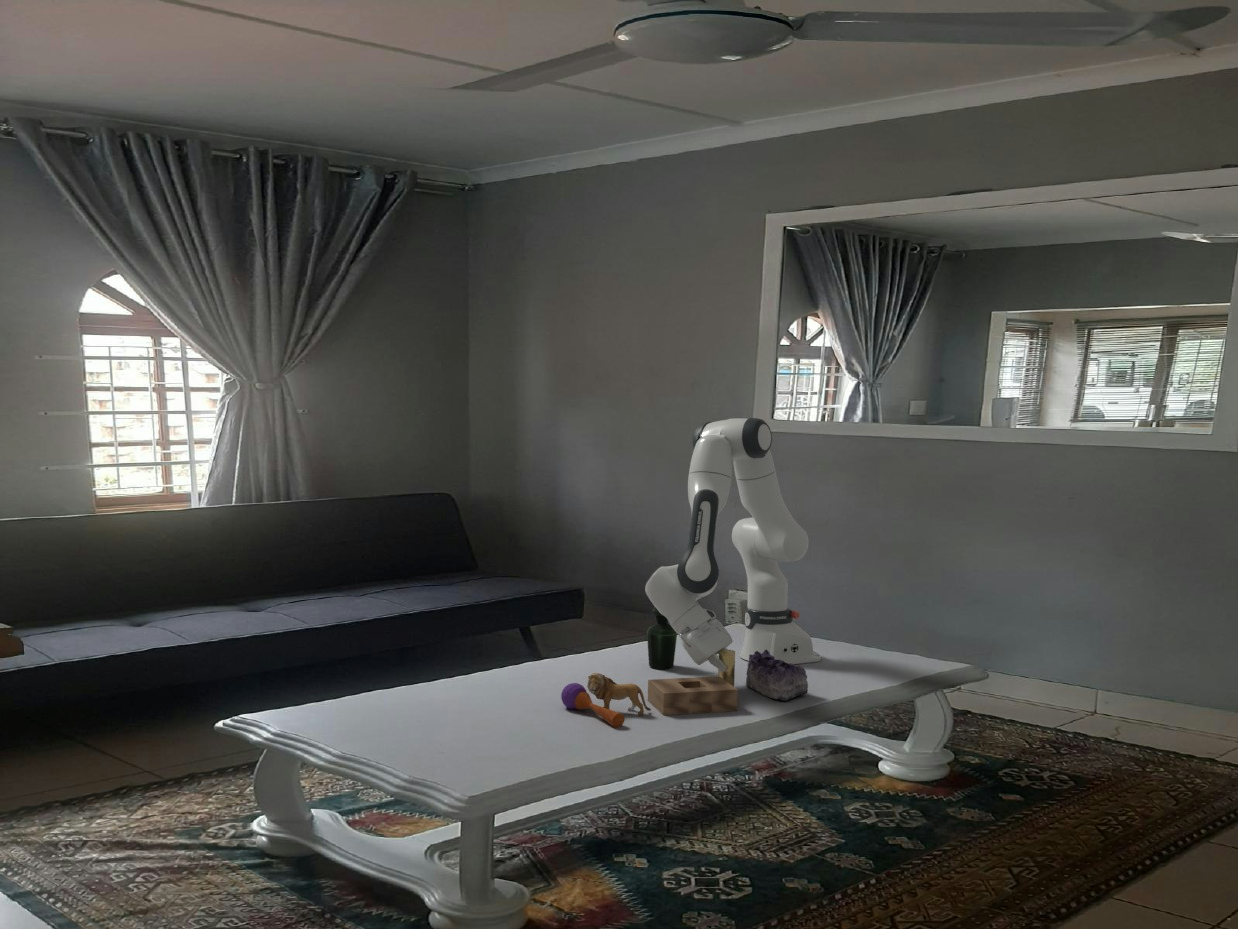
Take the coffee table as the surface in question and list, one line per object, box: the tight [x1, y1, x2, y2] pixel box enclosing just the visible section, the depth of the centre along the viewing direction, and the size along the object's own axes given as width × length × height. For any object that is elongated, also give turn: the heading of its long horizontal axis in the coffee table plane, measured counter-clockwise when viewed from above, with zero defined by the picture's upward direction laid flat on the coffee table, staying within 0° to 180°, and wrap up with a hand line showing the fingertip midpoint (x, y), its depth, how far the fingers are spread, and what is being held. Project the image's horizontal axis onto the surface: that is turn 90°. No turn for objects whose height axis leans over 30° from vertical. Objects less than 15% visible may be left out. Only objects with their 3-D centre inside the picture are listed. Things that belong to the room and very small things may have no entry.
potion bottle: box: [646, 607, 678, 671], centre depth 287 cm, size 8×8×18 cm
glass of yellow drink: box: [717, 648, 736, 687], centre depth 264 cm, size 4×4×10 cm
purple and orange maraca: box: [560, 682, 625, 729], centre depth 242 cm, size 6×6×20 cm
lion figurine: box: [586, 672, 652, 716], centre depth 246 cm, size 15×5×9 cm, turn 92°
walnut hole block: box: [647, 675, 739, 716], centre depth 252 cm, size 18×12×5 cm, turn 105°
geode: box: [745, 649, 809, 702], centre depth 266 cm, size 20×12×10 cm, turn 28°
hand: (729, 668), depth 264 cm, fingers closed on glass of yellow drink, 4 cm apart
